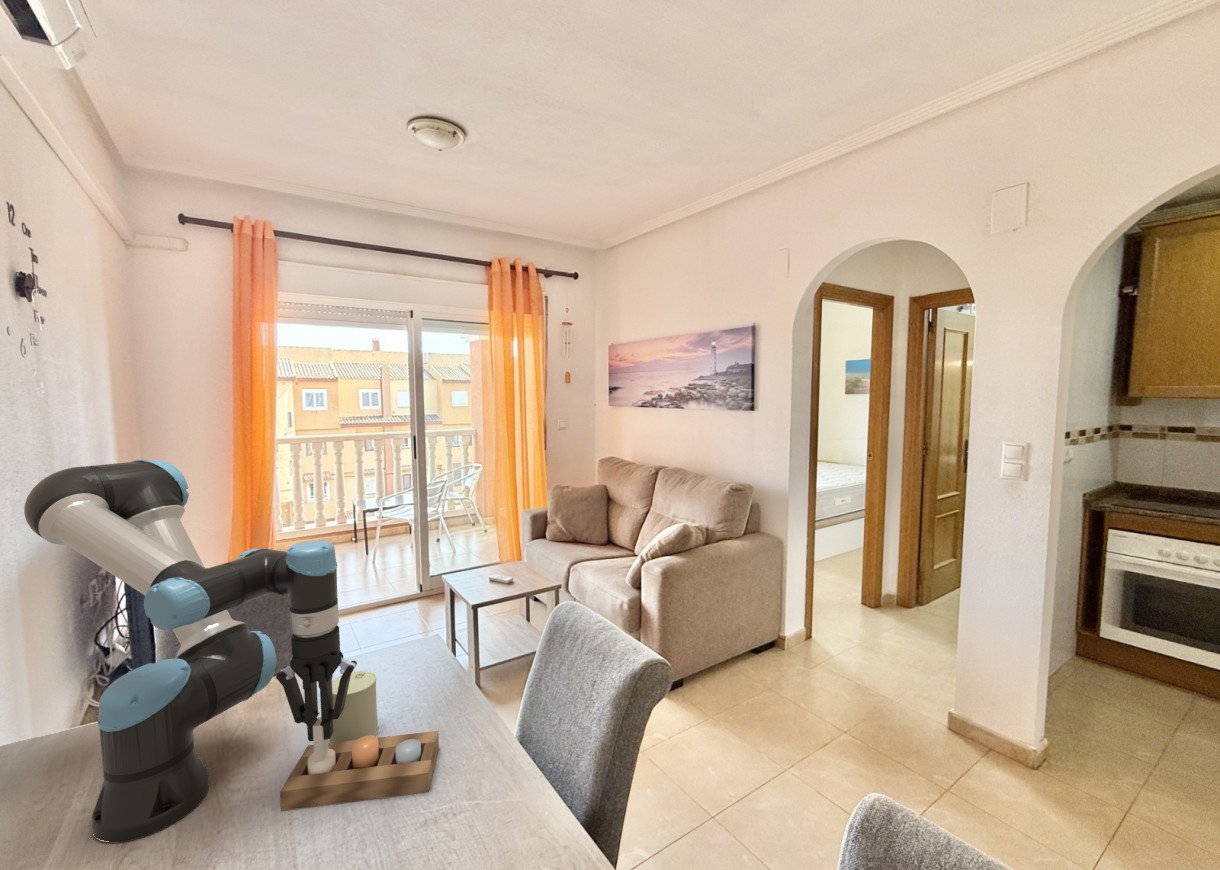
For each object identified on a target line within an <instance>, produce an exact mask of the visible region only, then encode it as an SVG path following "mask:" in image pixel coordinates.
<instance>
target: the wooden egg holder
mask: <svg viewBox="0 0 1220 870" xmlns="http://www.w3.org/2000/svg"><path fill="white" fill-rule="evenodd" d="M439 735H440V734H439V730H434V731H433V730H432V731H425V732H424V731H423V732H416V733H414V732H413V733H407V734H398V735H397V734H396V735H389V736H388V735H387V736H379V737H378V736H377V738H378V749H379V762H378V765H377V767H368V768H360V769H353V764H352V744H353V743H354V742H355V741H356V740H352V741H343V742H334V743H329V742H328V745H329V749H333V750H334V751H335V761H336V765H335V767H334V769H333V771H332V772H327V773H319V774H310V775H308V758H309V757H310V756H311V755H312V754H313V753H314V744H309V745H307V747H306V748H304V751H303V752H302V754H301V756H300V758H299V759H298V761H297V763H296V764H295V766H294V768H293V769H292V771H291V772H290V774H289V776H288V778H287V779H286V780H285V783H284V784H283V786H282V787H281V789H280V791H279V797H280V799H279V801H280V811H281V812H283V811H284V812H285V811H291V810H298V809H299V810H300V809H307V808H313V807H322V806H328V805H329V806H331V805H337V804H344V803H351V802H353V803H354V802H359V801H367V800H368V801H369V800H376V799H382V798H383V799H384V798H391V797H398V796H399V797H400V796H405V795H413V794H422V793H429V791H430V789H431V784H432V779H433V775H434V770H435V766H436V762H437V759H438V758H437V757H438V754H439V748H440V742H439V741H440V740H439V739H440V737H439ZM409 739H416V740H419V741H420V743H421V761H418V762H410V763H401V764H396V747H397V745H398V744H400V743H401V742H403V741H405V740H409Z"/></svg>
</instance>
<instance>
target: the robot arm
mask: <svg viewBox="0 0 1220 870" xmlns="http://www.w3.org/2000/svg"><path fill="white" fill-rule="evenodd" d="M188 485H189V484H188V482H187V480H186V477H185V475H183V473H182V472H181V471H180V469H178V468H177V467H176V466H175V465H174V464H172V463H170V462H167V461H164V460H160V459H150V460H149V459H148V460H146V459H137V460H132V461H130V462H129V461H128V462H119V463H118V462H117V463H109V464H108V463H107V464H96V465H88V466H86V465H85V466H81V465H80V466H74V467H68V468H64V469H62V470H61V469H60V470H59V471H56V472H54V473H52V474H49V475H48V476H46V477H44V478H43V479H42V480H40V481H39V482H38V483H37V484H36V485H34V486H33V488H32V489H31V490H30V492H29V493H28V495H27V498H26V500H25V503H24V507H23V508H24V509H23V510H24V511H23V513H24V517H25V520H26V521H25V522H26V523H27V524H28V526H29V528H30V529H31V530H32V531H33V532H34V533H35V534H37V536H39V537H41V538H42V539H43V540H45V541H47V542H49V543H51V544H54V545H61V546H62V545H66V546H68V547H69V548H71V549H72V550H74V551H76V552H77V553H79V554H80V555H82V556H84V557H85V558H86V559H88V560H89V561H91V562H93V563H94V564H95V565H98V567H100V568H102V569H103V570H105V571H106V572H108V573H110V574H111V575H112V576H114V577H116V578H118V579H119V580H120V581H122V582H124V583H125V584H126V585H128V586H129V587H131V588H133V589H134V590H135V591H137V592H139V593H140V594H141V595H143V596H144V598H143V608H144V612H145V616H146V617H147V618H149V619H150V623H151V624H152V626H153V627H155V628H156V629H159V630H164V631H171V630H172V631H173V632H174V634H175V636H176V637H175V638H176V639H177V641H178V642H179V644H180V647H179V649H178V651H177V652H176V655H175V658H166V659H160V660H158V661H156V662H154V663H152V662H150V663H146V664H144V665H142V666H139V667H136V668H134V669H132V670H130V671H128V672H127V673H125V674H123V675H121V676H120V677H118V678H117V679H115V680H114V681H113V682H112V683H111V684H109V685H108V686H107V688H105V690H104V691H103V693H102V695H101V696H100V698H99V702H98V717H97V726H98V727H99V737H100V750H101V760H102V763H101V764H102V771H103V782H102V785H101V787H100V790H99V794H98V796H97V800H96V803H95V806H94V808H93V812H92V815H91V832H93V833H92V835H93V834H94V836H95V837H96V838H98V839H100V840H104V841H109V842H118V843H123V842H124V843H125V842H130V841H134V840H138V839H141V838H145V837H147V836H150V835H152V834H154V833H158V832H160V831H161V830H163V829H165V828H167V827H170V826H172V825H173V824H175V823H176V822H179V820H181V819H183V818H185V817H186V816H187V815H188V814H190V813H191V812H193V810H195V809H196V808H197V807H198V806H199V805H200V804H201V803H202V801H203V800H204V799H205V798H206V796H207V795H208V792H209V789H210V777H209V772H208V770H207V768H206V767H205V765H204V763H203V760H202V759H201V758H200V757H201V756H199V754H198V752H197V750H196V748H195V741H194V740H195V739H194V729H196V728H197V727H199V726H201V725H202V724H204V723H206V722H208V721H210V720H211V719H214V718H215V717H217V716H218V715H220V714H223V713H224V712H226V711H227V710H229V709H231V708H233V707H235V706H237V705H238V704H240V703H242V702H245V701H247V700H249V699H250V698H252V697H253V696H254V695H255V694H257V693H258V692H260V691H262V690H263V689H265V688H266V687H267V686H268V685H269V684H270V683H271V681H272V679H273V677H274V674H275V669H276V667H277V654H276V649H275V646H274V644H273V642H272V640H271V639H270V637H269V635H267V634H266V633H263V631H260V630H249V629H248V627H247V625H246V623H245V622H244V621H240V620H235V619H233V618H232V616H231V614H230V613H229V611H228V610H229V609H232V608H235V607H238V606H240V605H243V604H245V603H248V602H250V601H253V600H256V599H258V598H260V597H265V596H267V595H270V594H271V595H272V594H273V595H280V596H288V599H289V600H288V601H289V604H288V605H289V617H290V618H289V621H290V623H289V624H290V632H291V633H292V634H291V636H290V643H291V644H290V645H291V655H292V658H291V660H290V661H289V664H288V666H283V667H282V668H281V669H280V670H279V672H277V674H276V676H275V678H276V680H277V681H278V682H279V683H280V684H281V686H282V688H283V690H284V694H285V696H286V699H287V701H288V706H289V708H290V711H291V714H292V717H293V720H294V722H295V724H301V723H302V724H306V727H307V728H306V731H307V741H308V742H313V745H314V761H321V760H324V758H325V756H326V754H327V753H328V751H329V745H328V743H329V739H330V738H331V736H332V734H333V719H338V718H339V716H340V715H341V713H342V711H343V709H344V705H345V701H346V696H347V691H348V687H349V682H350V677H351V673H352V672H354V670H355V668H356V667H357V665H358V662H357V660H351V661H349V660H348V659H346V658H344V654H343V653H342V651H341V640H340V639H341V637H340V626H339V625H338V624H339V623H340V619H339V618H340V617H339V602H338V601H339V600H338V599H339V598H338V577H337V575H338V574H337V573H338V569H337V568H338V562H337V558H336V549H335V546H334V544H333V543H332V542H331V541H327V540H309V541H302V542H299V543H295V544H293V545H291V546H290V547H288V549H287V550H276V549H273V548H266V547H264V548H252V549H247V550H246V551H245V550H244V551H243V552H242V553H241V554H240V555H239V556H237V557H236V558H235V559H234V560H231V561H228V562H224V563H221V564H217V565H215V566H211V567H205V565H204V563H203V562H202V560H201V558H200V556H199V554H198V552H197V550H196V548H195V546H194V544H193V542H192V541H191V539H190V536H189V535H188V532H187V531H186V529H185V526H184V525H183V524H182V522H181V519H182V517H183V515H184V513H185V512H186V511H185V510H186V509H185V506H186V504H187V503H188V500H189V496H190V493H189V491H188V489H189V486H188ZM339 667H340V668H339ZM338 668H339V672H340V676H341V675H342V676H341V679H340V682H339V687H338V692H337V696H336V701H335V705H334V709H333V694H332V680H333V677H334V676H333V675H334V673H335V672H336V671H337V670H338ZM296 675H297V676H298V678H300V680H301V681H302V690H303V691H304V692H303V694H304V695H303V694H302V692H301V688H300V685H299V683H298V680H297V677H296ZM318 688H319V697H320V711H319V706H318V703H319V701H318ZM303 696H304V697H303ZM319 715H321V716H319ZM318 716H319V717H318ZM94 836H93V837H94ZM95 837H94V838H95ZM96 838H95V839H96Z"/></svg>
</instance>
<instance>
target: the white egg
mask: <svg viewBox="0 0 1220 870" xmlns="http://www.w3.org/2000/svg"><path fill="white" fill-rule="evenodd" d="M335 765H336V761H335V751H334V750H333V749H329V751H328V753H327V754H326V756H325V758H324V760H321V761H314V753H313V754H312V755H311V756H310V757H309V758H308V775H310V774H319V773H327V772H332V771H333V769H334V767H335Z"/></svg>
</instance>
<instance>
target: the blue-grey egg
mask: <svg viewBox="0 0 1220 870" xmlns="http://www.w3.org/2000/svg"><path fill="white" fill-rule="evenodd" d="M418 761H421V743H420V741H419V740H416V739H409V740H405V741H403V742H401V743H400V744H398V745H397V747H396V764H401V763H410V762H418Z"/></svg>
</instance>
